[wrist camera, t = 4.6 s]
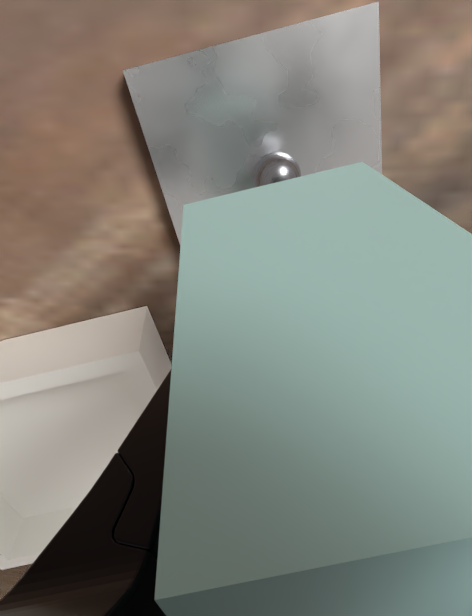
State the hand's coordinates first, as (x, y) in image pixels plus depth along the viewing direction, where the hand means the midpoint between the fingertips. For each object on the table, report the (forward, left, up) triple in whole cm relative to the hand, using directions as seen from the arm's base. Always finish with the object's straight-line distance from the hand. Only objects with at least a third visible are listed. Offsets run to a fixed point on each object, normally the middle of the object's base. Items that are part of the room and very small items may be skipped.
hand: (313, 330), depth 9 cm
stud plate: (+1, -1, -12) cm, 12 cm away
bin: (-13, +15, -12) cm, 23 cm away
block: (0, 0, -4) cm, 4 cm away
